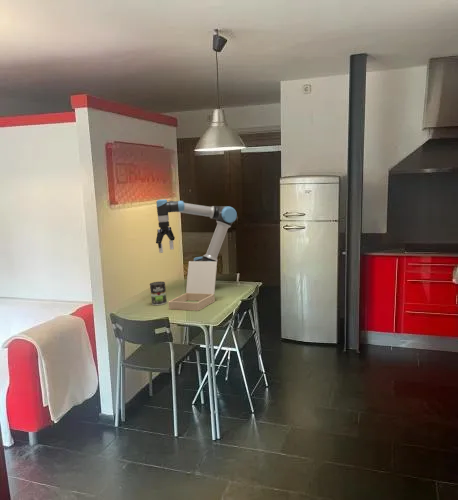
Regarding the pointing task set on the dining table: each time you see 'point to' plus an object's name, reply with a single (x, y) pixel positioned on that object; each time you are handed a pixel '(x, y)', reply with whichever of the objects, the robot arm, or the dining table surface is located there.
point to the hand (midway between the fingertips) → (166, 251)
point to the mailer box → (197, 286)
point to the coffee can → (158, 293)
